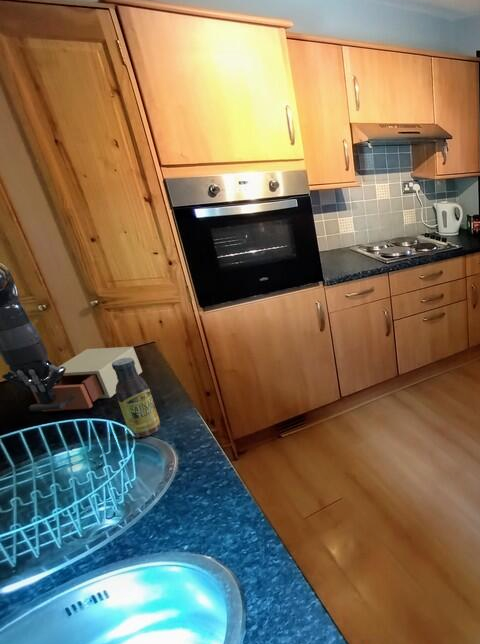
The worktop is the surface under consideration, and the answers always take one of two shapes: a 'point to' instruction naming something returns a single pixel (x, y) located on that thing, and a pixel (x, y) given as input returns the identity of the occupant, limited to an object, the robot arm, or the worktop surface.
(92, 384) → the reddish brown drawer
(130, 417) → the sauce bottle
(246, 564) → the worktop surface
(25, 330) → the robot arm
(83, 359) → the drawer cabinet
